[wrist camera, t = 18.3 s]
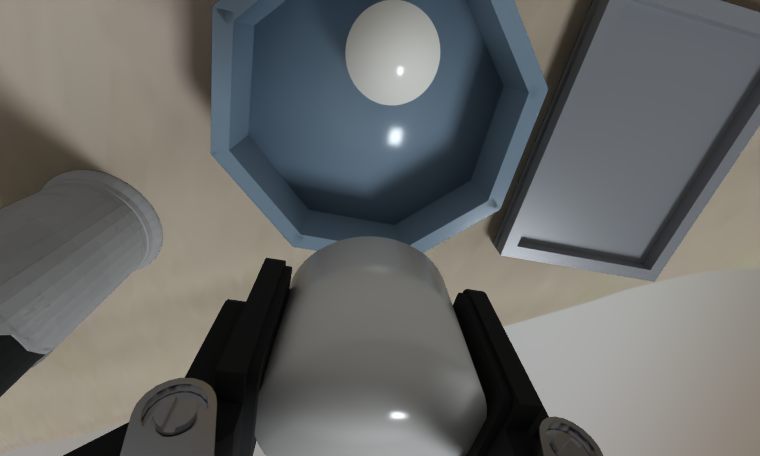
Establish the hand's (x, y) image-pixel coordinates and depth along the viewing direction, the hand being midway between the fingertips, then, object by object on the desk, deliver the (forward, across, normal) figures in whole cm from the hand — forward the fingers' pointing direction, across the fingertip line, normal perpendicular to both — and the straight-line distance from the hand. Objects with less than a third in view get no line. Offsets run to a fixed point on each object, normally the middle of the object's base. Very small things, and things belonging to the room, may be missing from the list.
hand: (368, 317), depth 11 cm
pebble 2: (+1, 0, 0) cm, 1 cm away
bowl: (+17, 0, -4) cm, 18 cm away
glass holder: (+18, +21, +10) cm, 29 cm away
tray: (+17, -19, -4) cm, 26 cm away
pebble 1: (+17, 0, -7) cm, 18 cm away
